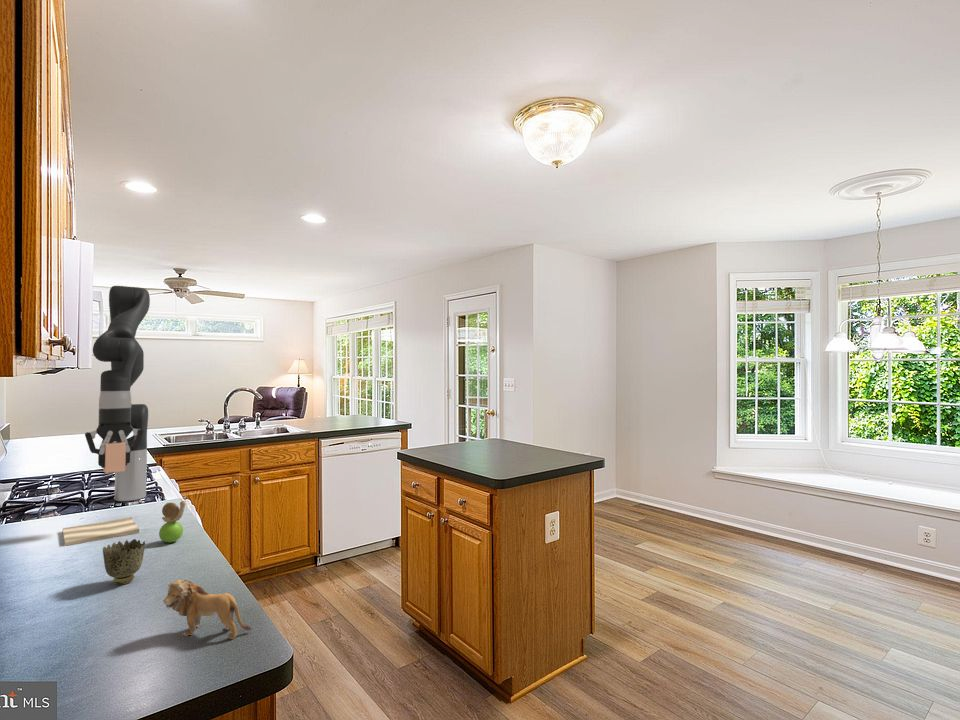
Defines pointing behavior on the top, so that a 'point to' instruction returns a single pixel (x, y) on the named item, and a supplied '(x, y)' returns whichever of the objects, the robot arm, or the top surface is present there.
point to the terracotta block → (115, 457)
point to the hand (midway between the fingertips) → (114, 466)
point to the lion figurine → (202, 606)
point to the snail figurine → (172, 522)
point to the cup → (123, 560)
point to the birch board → (99, 531)
